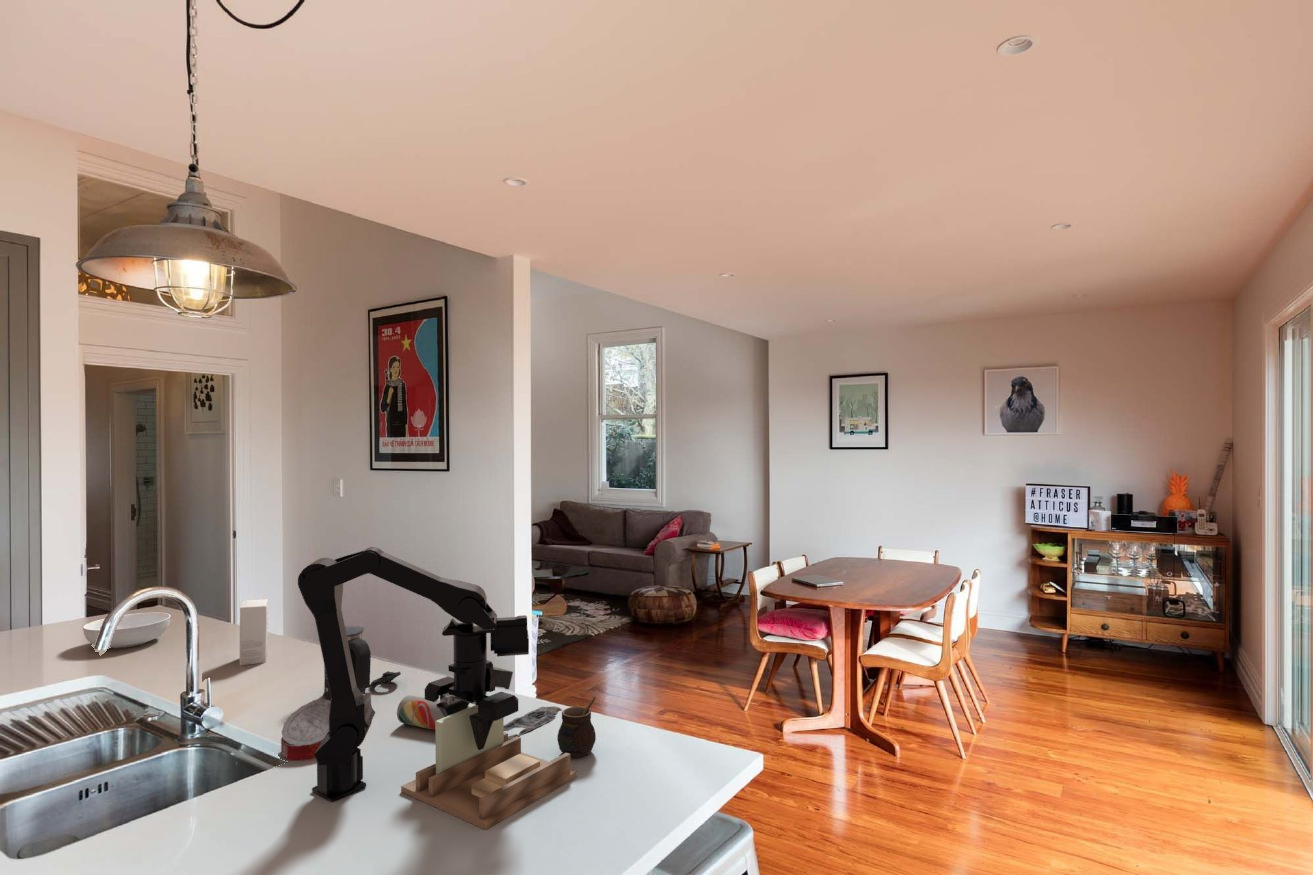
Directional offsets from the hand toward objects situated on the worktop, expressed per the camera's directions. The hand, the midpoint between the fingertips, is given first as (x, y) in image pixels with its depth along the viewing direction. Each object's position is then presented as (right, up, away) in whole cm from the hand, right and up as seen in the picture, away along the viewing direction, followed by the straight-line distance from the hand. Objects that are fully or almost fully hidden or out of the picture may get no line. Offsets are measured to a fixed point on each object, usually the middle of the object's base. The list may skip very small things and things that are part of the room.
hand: (470, 745), depth 130 cm
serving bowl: (-122, -6, +84) cm, 148 cm away
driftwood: (+5, -6, +23) cm, 25 cm away
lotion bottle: (-20, -3, +25) cm, 32 cm away
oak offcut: (+8, -3, -5) cm, 10 cm away
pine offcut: (+8, -5, -5) cm, 11 cm away
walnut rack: (+4, -6, -3) cm, 7 cm away
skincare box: (-76, -6, +68) cm, 102 cm away
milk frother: (-37, -6, +45) cm, 58 cm away
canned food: (-34, -6, +12) cm, 37 cm away
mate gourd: (+18, -6, +10) cm, 21 cm away
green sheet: (0, -5, 0) cm, 4 cm away
